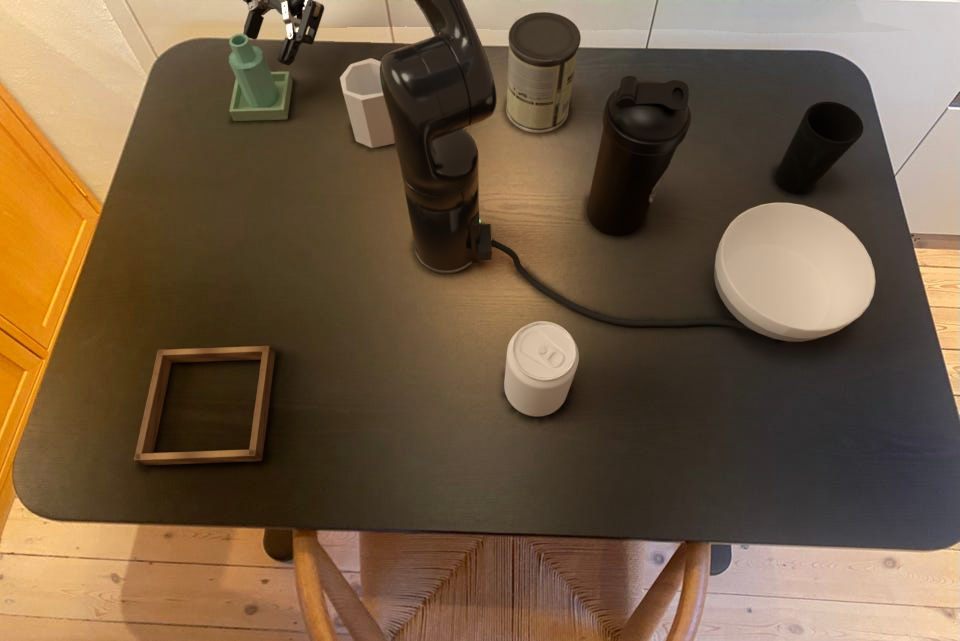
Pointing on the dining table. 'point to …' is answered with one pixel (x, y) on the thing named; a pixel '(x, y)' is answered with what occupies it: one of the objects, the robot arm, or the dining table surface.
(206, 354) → the wooden square frame
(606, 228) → the water bottle
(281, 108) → the tray
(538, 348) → the beverage can
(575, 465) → the dining table surface
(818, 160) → the cup
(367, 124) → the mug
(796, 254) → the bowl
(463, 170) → the robot arm
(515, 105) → the coffee can
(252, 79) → the bottle
